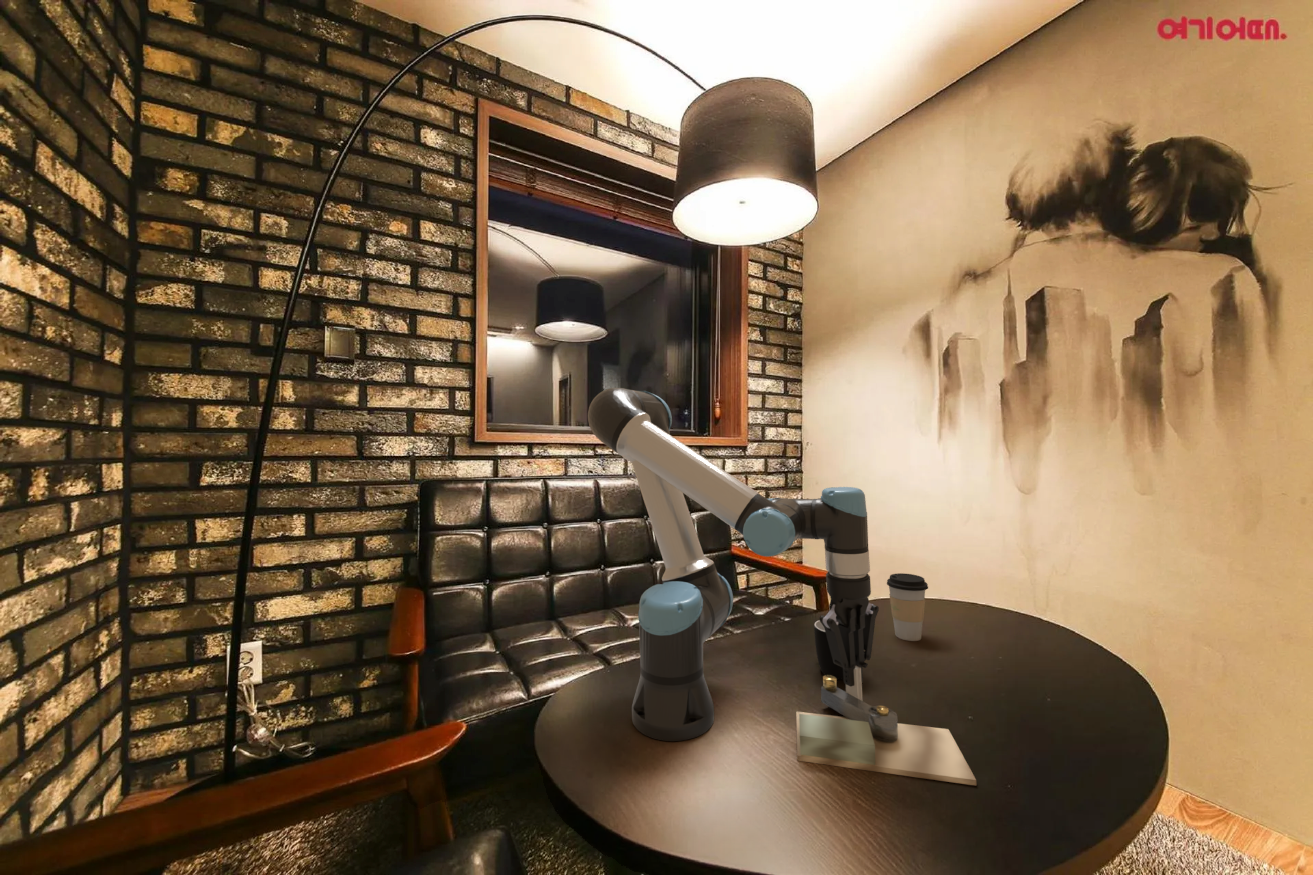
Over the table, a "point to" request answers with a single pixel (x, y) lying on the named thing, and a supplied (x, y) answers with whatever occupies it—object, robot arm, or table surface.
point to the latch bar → (860, 710)
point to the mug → (825, 653)
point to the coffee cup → (907, 604)
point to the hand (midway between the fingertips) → (854, 700)
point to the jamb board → (881, 748)
